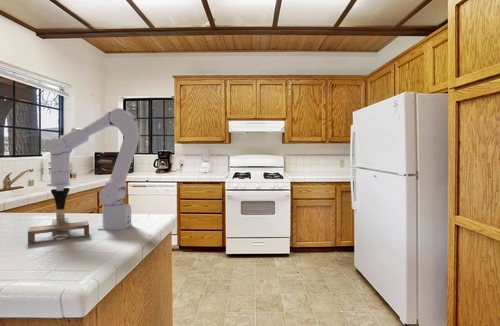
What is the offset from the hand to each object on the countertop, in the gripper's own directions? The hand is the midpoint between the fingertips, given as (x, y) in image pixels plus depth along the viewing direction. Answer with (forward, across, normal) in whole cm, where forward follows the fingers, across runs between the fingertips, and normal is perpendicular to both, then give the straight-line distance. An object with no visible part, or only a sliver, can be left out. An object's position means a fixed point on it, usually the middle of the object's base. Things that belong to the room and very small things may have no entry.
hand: (60, 208), depth 105 cm
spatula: (+5, +4, 0) cm, 6 cm away
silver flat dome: (+8, +16, 0) cm, 18 cm away
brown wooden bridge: (+7, +16, 0) cm, 18 cm away
